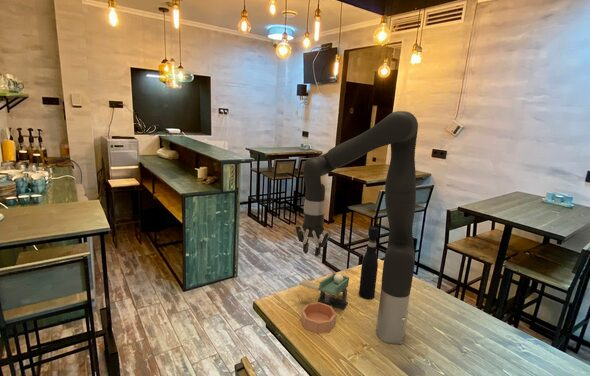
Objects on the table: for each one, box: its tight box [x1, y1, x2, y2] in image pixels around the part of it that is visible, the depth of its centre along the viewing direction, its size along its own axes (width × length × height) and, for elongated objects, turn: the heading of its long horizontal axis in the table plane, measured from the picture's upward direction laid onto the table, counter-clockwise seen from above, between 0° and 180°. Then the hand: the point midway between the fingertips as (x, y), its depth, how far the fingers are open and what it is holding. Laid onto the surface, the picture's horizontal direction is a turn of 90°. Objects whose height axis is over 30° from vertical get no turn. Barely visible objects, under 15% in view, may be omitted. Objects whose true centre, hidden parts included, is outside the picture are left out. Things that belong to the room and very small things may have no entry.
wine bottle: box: [358, 225, 380, 300], centre depth 129 cm, size 6×6×30 cm
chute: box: [298, 272, 350, 297], centre depth 126 cm, size 15×15×6 cm
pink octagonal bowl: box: [300, 301, 337, 335], centre depth 114 cm, size 12×12×4 cm
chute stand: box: [317, 288, 349, 311], centre depth 126 cm, size 11×5×7 cm, turn 61°
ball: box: [334, 273, 344, 284], centre depth 128 cm, size 4×4×4 cm
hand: (311, 254), depth 120 cm, fingers open, 4 cm apart
